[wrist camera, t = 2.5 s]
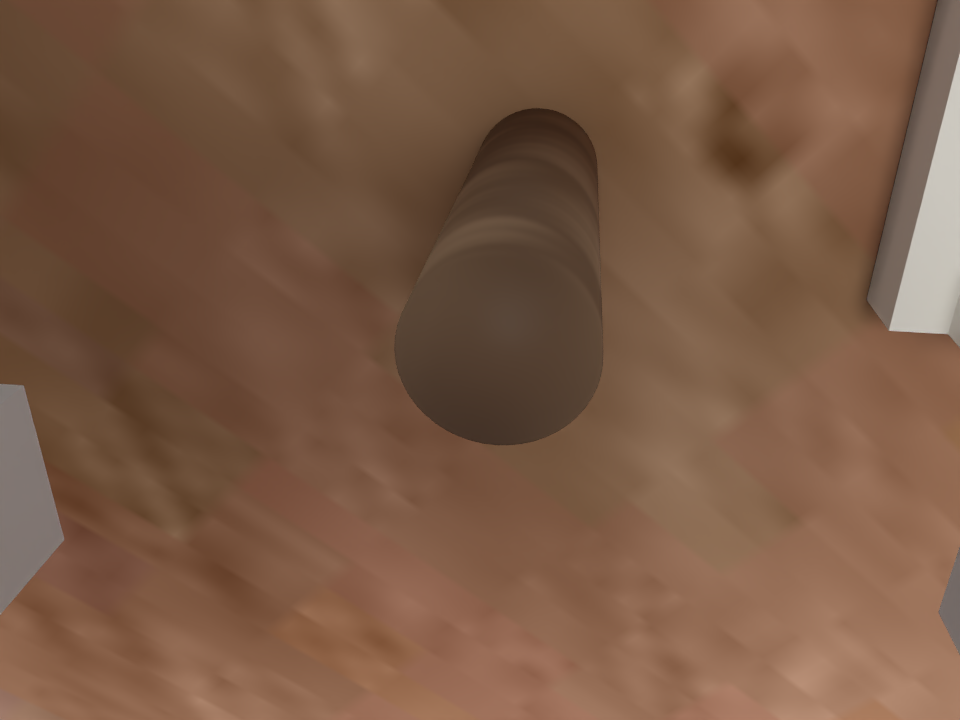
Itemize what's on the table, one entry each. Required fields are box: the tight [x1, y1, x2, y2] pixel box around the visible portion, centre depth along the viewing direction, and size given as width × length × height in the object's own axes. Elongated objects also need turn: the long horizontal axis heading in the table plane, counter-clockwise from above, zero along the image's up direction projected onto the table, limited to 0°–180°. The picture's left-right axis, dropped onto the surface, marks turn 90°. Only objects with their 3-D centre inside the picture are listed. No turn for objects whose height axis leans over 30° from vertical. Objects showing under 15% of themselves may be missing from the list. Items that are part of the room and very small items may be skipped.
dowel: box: [395, 108, 603, 445], centre depth 23 cm, size 4×4×14 cm
